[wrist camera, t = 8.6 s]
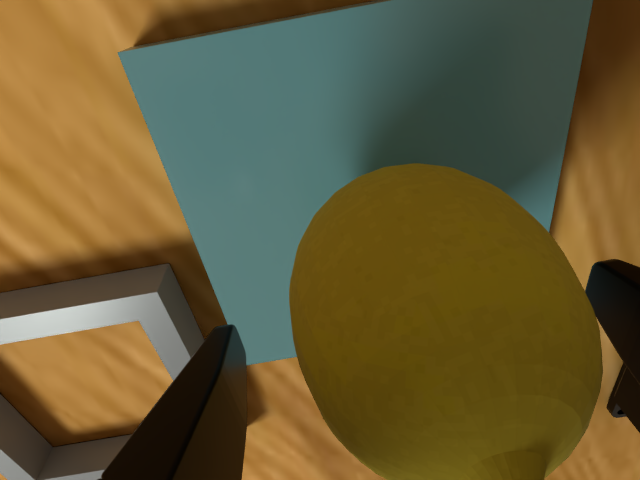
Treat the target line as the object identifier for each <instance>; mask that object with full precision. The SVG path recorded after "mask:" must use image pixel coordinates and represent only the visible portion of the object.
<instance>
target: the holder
mask: <svg viewBox="0 0 640 480" xmlns="http://www.w3.org/2000/svg"><path fill="white" fill-rule="evenodd" d="M133 321H139V322H140V324H141V325H142V327H143V329H144V331H145V332H146V334H147V336H148V338H149V339H150V341H151V343H152V344H153V346H154V348H155V350H156V351H157V353H158V355H159V357H160V358H161V360H162V362H163V364H164V365H165V367H166V369H167V371H168V372H169V374H170V376H171V377H172V379H173V381H174V380H175V378H176V377H177V376H178V374H179V373H180V372H181V370H182V369H183V368H184V367H185V365H186V364H187V363H188V361H189V360H190V359H191V357H192V356H193V355H194V354H195V352H196V351H197V350H198V348H199V347H200V346H201V345H202V343H203V342H204V341H205V340H204V337H203V335H202V333H201V331H200V329H199V327H198V325H197V322H196V320H195V318H194V316H193V314H192V312H191V310H190V307H189V305H188V303H187V301H186V299H185V297H184V294H183V292H182V290H181V288H180V286H179V284H178V282H177V279H176V277H175V275H174V273H173V271H172V269H171V267H170V264H169V263H168V264H162V265H157V266H151V267H145V268H140V269H134V270H128V271H123V272H117V273H111V274H105V275H100V276H94V277H88V278H83V279H77V280H71V281H66V282H60V283H54V284H49V285H43V286H37V287H32V288H26V289H20V290H15V291H9V292H3V293H0V344H6V343H12V342H17V341H23V340H29V339H35V338H41V337H46V336H52V335H58V334H64V333H70V332H75V331H81V330H87V329H93V328H98V327H104V326H110V325H116V324H122V323H127V322H133ZM131 435H132V434H131ZM131 435H125V436H119V437H113V438H107V439H101V440H95V441H89V442H82V443H76V444H70V445H64V446H58V447H52V446H51V445H50V444H49V443H48V442H47V441H46V440H45V439H44V438H43V437H42V436H41V435H40V434H39V433H38V432H37V431H36V430H35V429H34V428H33V427H32V426H31V425H30V424H29V423H28V422H27V421H26V420H25V419H24V418H23V417H22V416H21V415H20V414H19V413H18V412H17V410H16V409H15V408H14V407H13V406H12V405H11V404H10V403H9V402H8V401H7V400H6V399H5V398H4V397H3V396H2V395H1V394H0V473H1V474H2V475H3V476H4V477H5V478H7V479H8V480H97V479H100V478H101V475H102V473H103V472H104V470H105V469H106V468H107V466H108V465H109V464H110V463H111V461H112V460H113V459H114V457H115V456H116V455H117V453H118V452H119V451H120V450H121V448H122V447H123V446H124V444H125V443H126V442H127V441H128V439H129V438H130V437H131Z"/></svg>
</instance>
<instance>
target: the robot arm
mask: <svg viewBox="0 0 640 480" xmlns="http://www.w3.org/2000/svg"><path fill="white" fill-rule="evenodd" d="M585 293H586V295H587V297H588V299H589V301H590V303H591V306H592V308H593V310H594V313H595V316H596V318H597V319H598V321H599V323H600V324H601V326H602V328H603V329H604V331H605V333H606V334H607V336H608V338H609V339H610V341H611V343H612V344H613V346H614V348H615V349H616V351H617V353H618V354H619V356H620V357H621V359H622V360H623V362H624V364H623V367H622V369H621V372H620V374H619V377H618V379H617V382H616V384H615V387H614V389H613V392H612V394H611V396H610V399H609V401H608V404H607V409H608V411H609V412H610V413H611V415H612V416H613V417H616V418H618V417H625V416H627V417H628V419H629V420H630V421H631V422H632V424H633V425H634V426H635V427H636V429H637V430H638V431H639V432H640V267H638V266H635V265H632V264H629V263H627V262H624V261H621V260H618V259H611V260H605V261H599V262H596V263H595V264H594V265H593V266H592V268H591V272H590V276H589V279H588V283H587V286H586V290H585ZM246 430H247V371H246V352H245V349H244V346H243V343H242V341H241V338H240V336H239V333H238V331H237V328H236V327H235V325H233V324H229V325H223V326H218V327H215V328H214V329H213V330H212V332H211V333H210V334H209V335H208V337H207V338H206V339H205V341H204V342H203V343H202V345H201V346H200V347H199V348H198V350H197V351H196V352H195V354H194V355H193V356H192V357H191V359H190V360H189V361H188V363H187V364H186V365H185V367H184V368H183V369H182V370H181V372H180V373H179V374H178V376H177V377H176V378H175V380H174V381H173V382H172V383H171V385H170V386H169V387H168V389H167V390H166V391H165V393H164V394H163V395H162V396H161V398H160V399H159V400H158V402H157V403H156V404H155V405H154V407H153V408H152V409H151V411H150V412H149V413H148V415H147V416H146V417H145V418H144V420H143V421H142V422H141V424H140V425H139V426H138V428H137V429H136V430H135V431H134V433H133V434H132V435H131V437H130V438H129V439H128V441H127V442H126V443H125V444H124V446H123V447H122V448H121V450H120V451H119V452H118V453H117V455H116V456H115V457H114V459H113V460H112V461H111V463H110V464H109V465H108V466H107V468H106V469H105V470H104V472H103V473H102V475H101V478H100V479H97V480H241V479H242V470H243V460H244V451H245V441H246Z"/></svg>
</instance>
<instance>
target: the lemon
mask: <svg viewBox="0 0 640 480" xmlns="http://www.w3.org/2000/svg"><path fill="white" fill-rule="evenodd" d="M289 305H290V315H291V325H292V334H293V341H294V346H295V351H296V355H297V358H298V361H299V365H300V368H301V370H302V373H303V375H304V378H305V381H306V383H307V385H308V387H309V389H310V392H311V394H312V396H313V398H314V400H315V402H316V404H317V406H318V408H319V410H320V412H321V414H322V417H323V419H324V420H325V422H326V423H327V425H328V426H329V428H330V430H331V431H332V433H333V434H334V435H335V436H336V438H337V439H338V440H339V441H340V442H341V443H342V444H343V445H344V446H345V448H346V449H347V450H349V451H350V452H351V453H352V454H353V455H354V456H355V457H356V458H357V459H358V460H359V461H360V462H361V463H363V464H364V465H365V466H367V467H368V468H369V469H371V470H372V471H373V472H375V473H376V474H378V475H380V476H382V477H384V478H385V479H387V480H544V478H546V477H547V476H548V475H549V474H550V473H551V472H552V471H554V470H555V469H556V468H557V467H558V466H559V465H560V464H561V463H562V462H564V461H565V460H566V459H567V458H568V457H569V456H570V454H571V453H572V451H573V450H574V449H575V447H576V446H577V444H578V443H579V441H580V439H581V438H582V436H583V434H584V433H585V431H586V429H587V428H588V425H589V422H590V419H591V416H592V414H593V411H594V408H595V405H596V402H597V399H598V396H599V393H600V388H601V381H602V373H603V367H602V351H601V340H600V331H599V326H598V323H597V320H596V316H595V313H594V310H593V308H592V306H591V303H590V301H589V299H588V297H587V295H586V293H585V291H584V289H583V287H582V285H581V283H580V281H579V280H578V278H577V276H576V274H575V272H574V270H573V268H572V267H571V265H570V263H569V261H568V260H567V258H566V256H565V254H564V253H563V251H562V250H561V248H560V247H559V246H558V244H557V243H556V241H555V240H554V238H553V237H552V236H551V235H550V234H549V232H548V231H547V230H546V229H545V228H544V226H542V225H541V224H540V223H539V222H538V221H537V220H536V219H535V218H534V217H533V216H532V215H531V214H530V213H529V212H528V211H526V210H525V209H524V208H523V207H522V206H521V205H519V204H518V203H517V202H516V201H515V200H514V199H513V198H511V197H510V196H509V195H508V194H506V193H505V192H504V191H502V190H501V189H499V188H498V187H496V186H494V185H492V184H491V183H488V182H486V181H484V180H481V179H479V178H476V177H474V176H472V175H469V174H467V173H464V172H462V171H460V170H457V169H455V168H451V167H446V166H438V165H429V164H420V163H412V164H404V165H396V166H388V167H383V168H380V169H378V170H375V171H372V172H370V173H367V174H364V175H362V176H359V177H357V178H356V179H354V180H353V181H351V182H350V183H348V184H347V185H345V186H344V187H342V188H341V189H339V190H338V191H336V192H335V193H334V194H333V195H332V196H331V197H330V198H329V199H328V201H327V202H326V203H325V204H324V205H323V206H322V207H321V208H320V209H319V210H318V211H317V212H316V214H315V215H314V216H313V218H312V220H311V222H310V224H309V225H308V227H307V229H306V231H305V233H304V235H303V236H302V238H301V240H300V243H299V245H298V248H297V252H296V256H295V261H294V266H293V270H292V275H291V279H290V287H289Z"/></svg>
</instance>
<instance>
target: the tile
mask: <svg viewBox="0 0 640 480" xmlns="http://www.w3.org/2000/svg"><path fill="white" fill-rule="evenodd" d="M592 4H593V0H375V1H370V2H365V3H359V4H354V5H349V6H344V7H338V8H333V9H328V10H323V11H317V12H312V13H307V14H302V15H296V16H291V17H286V18H281V19H275V20H270V21H265V22H260V23H254V24H249V25H244V26H239V27H233V28H228V29H223V30H218V31H213V32H207V33H202V34H197V35H192V36H186V37H181V38H176V39H171V40H165V41H160V42H155V43H150V44H144V45H139V46H134V47H130V48H128V49H125V50H123V51H120V52H118V55H119V57H120V60H121V62H122V65H123V67H124V70H125V72H126V75H127V77H128V80H129V82H130V85H131V87H132V90H133V92H134V94H135V97H136V99H137V102H138V104H139V107H140V109H141V112H142V114H143V117H144V119H145V122H146V124H147V127H148V129H149V131H150V134H151V136H152V139H153V141H154V144H155V146H156V149H157V151H158V154H159V156H160V159H161V161H162V164H163V166H164V168H165V171H166V173H167V176H168V178H169V181H170V183H171V186H172V188H173V191H174V193H175V196H176V198H177V201H178V203H179V205H180V208H181V210H182V213H183V215H184V218H185V220H186V223H187V225H188V228H189V230H190V233H191V235H192V238H193V240H194V242H195V245H196V247H197V250H198V252H199V255H200V257H201V260H202V262H203V265H204V267H205V270H206V272H207V274H208V277H209V279H210V282H211V284H212V287H213V289H214V292H215V294H216V297H217V299H218V302H219V304H220V307H221V309H222V311H223V314H224V316H225V319H226V321H227V324H228V325H229V324H233V325H235V327H236V328H237V331H238V333H239V336H240V338H241V341H242V343H243V346H244V349H245V352H246V365H251V364H257V363H263V362H269V361H275V360H281V359H286V358H292V357H297V355H296V351H295V346H294V341H293V334H292V325H291V315H290V305H289V287H290V279H291V275H292V270H293V266H294V261H295V256H296V252H297V248H298V245H299V243H300V240H301V238H302V236H303V235H304V233H305V231H306V229H307V227H308V225H309V224H310V222H311V220H312V218H313V216H314V215H315V214H316V212H317V211H318V210H319V209H320V208H321V207H322V206H323V205H324V204H325V203H326V202H327V201H328V199H329V198H330V197H331V196H332V195H333V194H334V193H335V192H336V191H338V190H339V189H341V188H342V187H344V186H345V185H347V184H348V183H350V182H351V181H353V180H354V179H356V178H357V177H359V176H362V175H364V174H367V173H370V172H372V171H375V170H378V169H380V168H383V167H388V166H396V165H404V164H412V163H420V164H429V165H438V166H446V167H451V168H455V169H457V170H460V171H462V172H464V173H467V174H469V175H472V176H474V177H476V178H479V179H481V180H484V181H486V182H488V183H491V184H492V185H494V186H496V187H498V188H499V189H501V190H502V191H504V192H505V193H506V194H508V195H509V196H510V197H511V198H513V199H514V200H515V201H516V202H517V203H518V204H519V205H521V206H522V207H523V208H524V209H525V210H526V211H528V212H529V213H530V214H531V215H532V216H533V217H534V218H535V219H536V220H537V221H538V222H539V223H540V224H541V225H542V226H544V228H545V229H546V230H547V231H548V232H549V230H550V225H551V220H552V214H553V209H554V204H555V199H556V193H557V188H558V183H559V177H560V172H561V167H562V162H563V156H564V151H565V146H566V141H567V135H568V130H569V125H570V120H571V114H572V109H573V104H574V98H575V93H576V88H577V83H578V77H579V72H580V67H581V62H582V56H583V51H584V46H585V41H586V35H587V30H588V25H589V20H590V14H591V9H592Z"/></svg>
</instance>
